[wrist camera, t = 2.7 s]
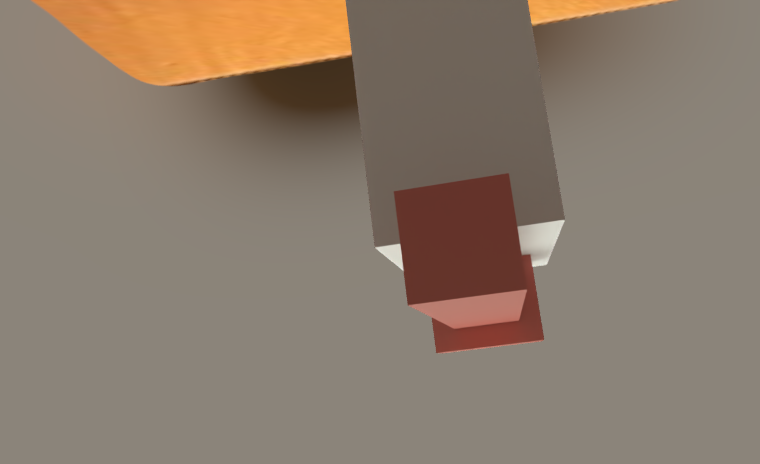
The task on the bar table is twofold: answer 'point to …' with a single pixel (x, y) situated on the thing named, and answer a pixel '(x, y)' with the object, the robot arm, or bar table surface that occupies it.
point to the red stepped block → (468, 264)
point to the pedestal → (453, 109)
